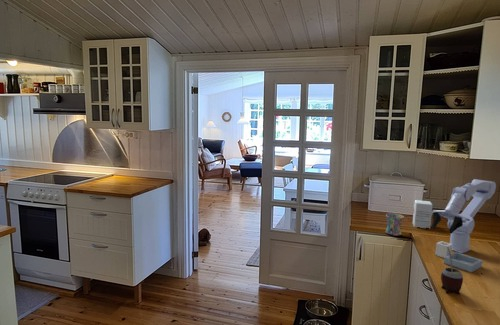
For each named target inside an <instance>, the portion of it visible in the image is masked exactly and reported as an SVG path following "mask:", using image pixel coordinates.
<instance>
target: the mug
mask: <svg viewBox="0 0 500 325" xmlns="http://www.w3.org/2000/svg"><path fill="white" fill-rule="evenodd" d="M385 217H386V220H387V226H386V229H385V234H387V235H389V236H396V237H397V236H401V235H402V231H401V230H402V229H401V225H402V222H403V220H404V218H405V216H404V215H402V214H399V213H393V212H392V213H391V212H390V213H386V214H385Z"/></svg>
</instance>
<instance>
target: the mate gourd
mask: <svg viewBox="0 0 500 325" xmlns="http://www.w3.org/2000/svg"><path fill="white" fill-rule="evenodd" d="M447 249H448V251H449V254H450V255H449V256H450V263H451V266H450V267H446V268H444V269H442V272H441V274H440V280H441V284H442V286H441V289H444V290H445V294H447V295H448V294H449V292H450V293H453V292H454V293H453V294H455V293H456V295H460V294H461V293H460V291H461V289H462V286H463V283H464V277H463V274H462V272H461V271H460V269H458V268H454V267H452V255H451V254H452V253H451V252H450V250H449V248H448V247H447Z"/></svg>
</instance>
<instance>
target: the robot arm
mask: <svg viewBox="0 0 500 325" xmlns="http://www.w3.org/2000/svg"><path fill="white" fill-rule="evenodd" d="M496 189H497V184H496V182H495V181H491V180H484V179H483V180H482V179H477V178H474V179H472V181H471V183H470V182H467V183H466V184H464V185H462V186H456V187H454V188H452V193H451V195H450V199H449V201H448V203H447V205H446V207H445V209H443V210H441V209H439V210H437V209H432V223H431V227H432V229H433V230H435V229H436V228H437V226H438V224H439V223H440V222H441V221H442V218H444V219H447V220H448V221H447V228H448V232H449V234H450V238H449V243H450V244H452V252H453V251H455V252H457V253H460V254H464V253H467V252H468V251H471V250H472V249H471V248H470V240H471V235H470V234H472V233H473V230H474V227H475V219H474V217H475V215H476V214H477V213H478V212H479V210H480V209H481V208H482V207H483V205H484V204H485V202H486V201H487V200H490V199H491V198H492V197H493V195H494V194H495V192H496ZM470 198H472V200H470ZM466 201H470V202H469V203H468V204H467V206H466V207H465V208H464V209H463V211H462V212H461V210H462V207H464V204H465V203H466ZM460 212H461V213H460ZM441 217H442V218H441Z"/></svg>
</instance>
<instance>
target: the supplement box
mask: <svg viewBox="0 0 500 325" xmlns="http://www.w3.org/2000/svg"><path fill="white" fill-rule="evenodd" d="M432 212H433V203H432V202H431V201H429V200H420V199H415V200H414V204H413V212H412V225H413V227H414V228H417V227H420V228H419V229H426V228H429V229H428V230H431V227H432V217H433V214H432Z"/></svg>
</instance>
